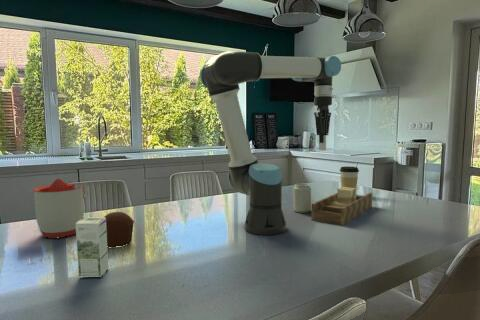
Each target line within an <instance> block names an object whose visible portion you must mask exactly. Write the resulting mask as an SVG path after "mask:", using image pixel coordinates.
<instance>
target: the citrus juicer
mask: <svg viewBox="0 0 480 320" xmlns="http://www.w3.org/2000/svg"><path fill="white" fill-rule="evenodd" d="M32 190H33V193H34V196H33V197H34V206H35V207H34V209H35V218H36V221H37V225H38V228H39V231H40V233H41V235H42V236H43V237H44V238H46V237H48V239H55V238H57V237H61V238H66V237H65V236H67V237H70V236H69V235H71V236H74V235H76V223H77V222H78V221H79V220H81V219H83V218H84V215H85V214H84V213H85V210H84V209H85V207H84V198H87V197H88V195H87V194H86V193H84V185H83V184H82V185H80V186H78V187H76V188H75V183H72V182H71V183H67V182H65V181H64V180H62V179H61V178H56V179H55V180H54V181H53V182H52V184H48V185H41V186H38V187H34V188H33V189H32ZM73 234H74V235H73Z"/></svg>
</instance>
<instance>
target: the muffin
mask: <svg viewBox="0 0 480 320" xmlns="http://www.w3.org/2000/svg"><path fill="white" fill-rule="evenodd" d="M103 217H105V218H106V230H107V246H108V247H116V246H123V245H126V244H128V245H129V243H130V242H131V243H132V239H133V231H134V224H135V221H134V220H133V218H132V217H131V216H130V215H128V214H127V213H125V212H122V211H114V212H110V213H107V214H105V216H103ZM131 243H130V244H131ZM123 247H124V246H123Z"/></svg>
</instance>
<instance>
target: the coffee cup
mask: <svg viewBox="0 0 480 320" xmlns="http://www.w3.org/2000/svg"><path fill="white" fill-rule="evenodd" d="M339 172H340V185H341V187H348V188H356V189H357V185H358V178H359V177H358V175H359V172H360V170H359V168H358V167H357V166H341V167H340V168H339Z"/></svg>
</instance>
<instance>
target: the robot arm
mask: <svg viewBox="0 0 480 320" xmlns="http://www.w3.org/2000/svg"><path fill="white" fill-rule="evenodd" d="M341 69H342V61H341V60H340V58H339V57H338V56H336V55H329V56H326V57H314V56H284V55H283V56H282V55H281V56H280V55H279V56H275V55H260V53H259V52H252V51H240V50H239V51H238V50H237V51H236V50H234V51H233V50H231V51H230V50H229V51H224V52H222V53H220V54H217V55H214V56H212V57H210V58H209V59H207V60H206V61H205V62H204V63H203V64H202V65H201V68H200V70H199V78H200V82H201V84H202V85H203V87H205V88H206V89H207V92H208V95H209V97H210V98H211V99H213V100H214V102H215V105H216V109H217V113H218V116H219V120H220V125H221V128H222V132H223V135H224V139H225V142H226V143H225V144H226V147H227V150H228V154H229V158H230V161H229V162H228V166H227V167H228V169H229V171H228V173H227V183H229V186H230V187H231V188H232V189H233V190H234V191H236V192H237V193H239V194H243V195H246V196H249V197H248V198H249V200H248V201H249V209H248V211H247V215H246V218H245V222H244V230H245V231H246V232H248V233H249V234H254V235H259V236H265V235H266V236H270V235H272V236H273V235H279V234H282V233H285V232H286V231H287V221H286V219H285V214H284V211H283V208H282V199H283V198H282V193H283V192H282V183H283V177H282V169H281V167H279V166H277V165H276V164H275V165H274V164H270V163H264V162H263V163H262V162H261V163H259V160H258V157H257V156H255V155H254V154H253V152H252V150H251V145H250V141H249V136H248V133H247V129H246V125H245V120H244V117H243V113H242V110H241V105H240V102H239V97H238V92H239V91H240V84H243V83H248V82H258V81H260V79H292V80H293V81H295V82H299V83H301V82H309V83H310V82H312V83H314V84H313V85H314V89H313V90H314V93H313V95H314V96H315V97H314V98H313V99H314V100H313V102H314V106H317V108H316V111H315V112H313V115H314V118H315V119H314V120H315V130H316V136H318V151H327V136H329V133H330V124H331V116H332V112H330V109H329V108H330V107H329V106H332V104H333V97H332V95H333V90H334V89H333V88H334V87H333V77H335V76H338V75H339V74H340V73H341Z"/></svg>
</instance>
